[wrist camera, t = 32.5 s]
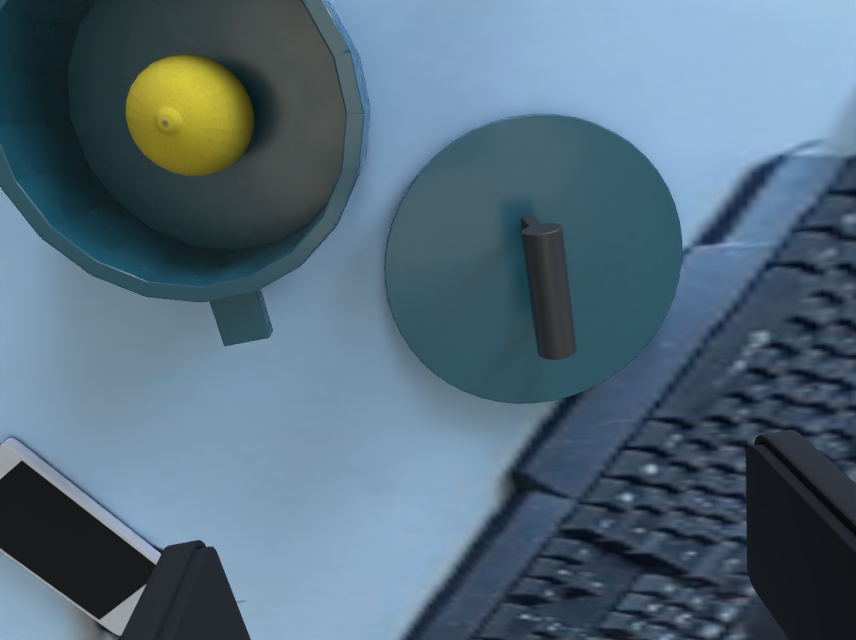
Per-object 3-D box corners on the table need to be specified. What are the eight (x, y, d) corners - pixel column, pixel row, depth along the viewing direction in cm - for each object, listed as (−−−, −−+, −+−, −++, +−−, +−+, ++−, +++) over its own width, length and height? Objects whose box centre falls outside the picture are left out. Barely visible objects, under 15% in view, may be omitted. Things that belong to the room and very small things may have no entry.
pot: (314, -159, 31) (290, -228, 24) (405, 272, 39) (407, 316, 32) (-19, -88, 31) (-139, -135, 24) (138, 325, 39) (82, 379, 32)
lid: (666, 84, 35) (719, 85, 30) (680, 367, 42) (727, 414, 36) (355, 147, 36) (347, 161, 30) (416, 417, 42) (419, 472, 36)
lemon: (140, 99, 34) (68, 106, 27) (219, 34, 33) (168, 21, 26) (211, 185, 36) (162, 213, 28) (288, 125, 35) (259, 138, 27)
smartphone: (123, 628, 47) (118, 639, 46) (-58, 496, 42) (-68, 505, 42) (191, 576, 46) (187, 586, 45) (12, 434, 41) (3, 442, 40)
